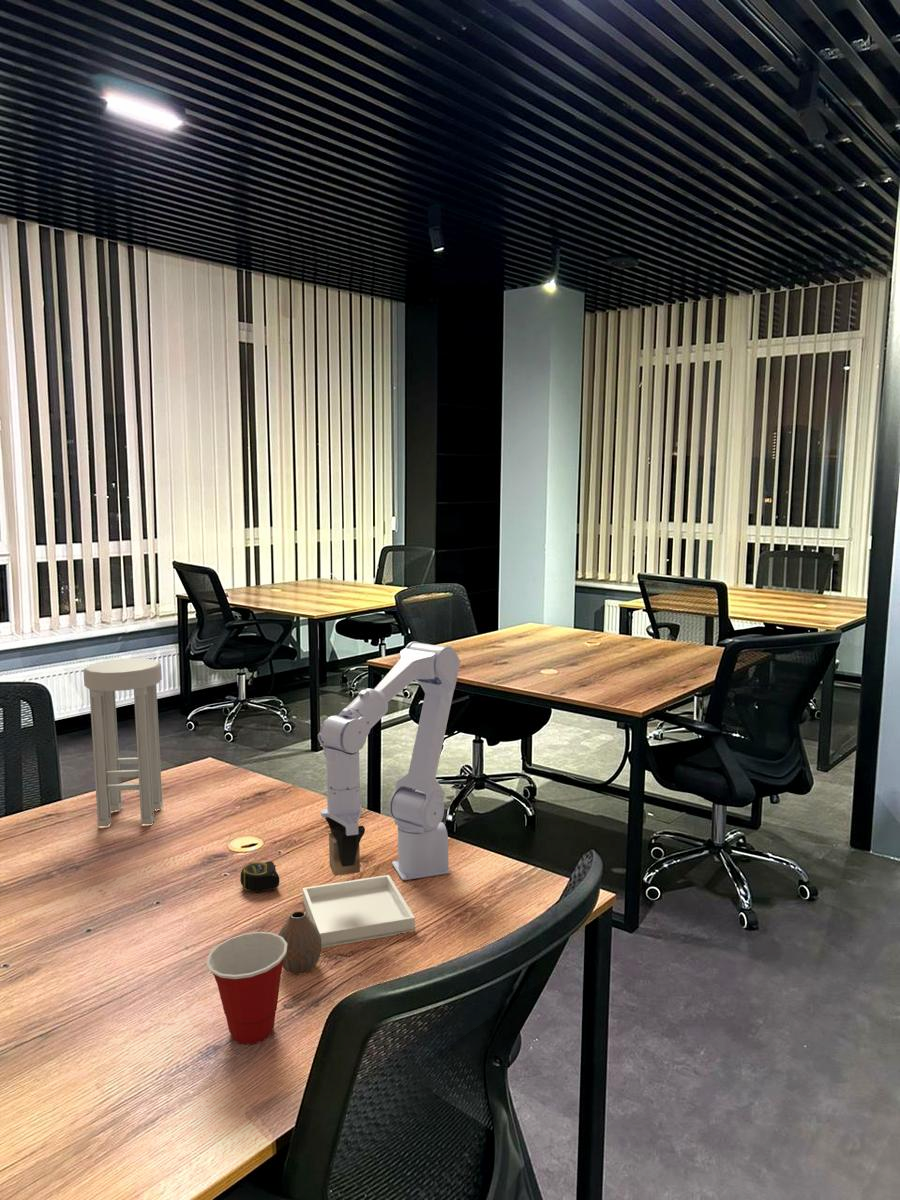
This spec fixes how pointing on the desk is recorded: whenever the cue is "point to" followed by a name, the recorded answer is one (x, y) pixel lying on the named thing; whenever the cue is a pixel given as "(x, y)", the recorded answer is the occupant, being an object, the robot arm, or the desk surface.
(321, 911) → the tray
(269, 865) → the tape measure
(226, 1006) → the plastic cup
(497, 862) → the desk surface
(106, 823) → the stool
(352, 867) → the walnut block
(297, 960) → the vase
